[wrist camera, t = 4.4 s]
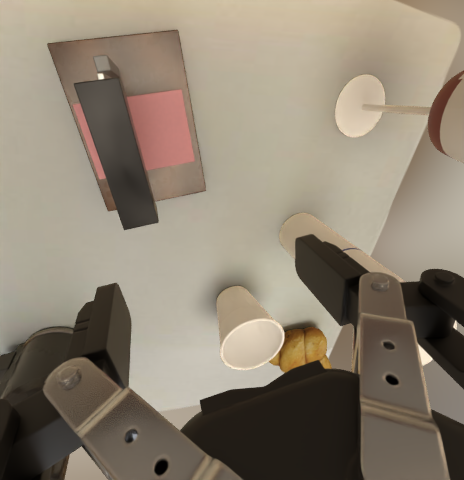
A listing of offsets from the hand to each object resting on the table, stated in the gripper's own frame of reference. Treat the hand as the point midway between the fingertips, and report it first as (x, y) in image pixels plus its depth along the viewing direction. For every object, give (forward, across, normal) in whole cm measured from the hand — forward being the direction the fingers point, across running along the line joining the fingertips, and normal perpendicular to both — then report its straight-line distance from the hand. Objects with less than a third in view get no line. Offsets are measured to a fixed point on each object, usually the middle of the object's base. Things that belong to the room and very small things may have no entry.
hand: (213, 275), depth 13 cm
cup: (+28, -6, +26) cm, 39 cm away
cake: (+27, +2, -4) cm, 27 cm away
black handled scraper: (+20, +3, -4) cm, 20 cm away
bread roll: (+28, -17, +41) cm, 53 cm away
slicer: (+28, +2, -4) cm, 29 cm away
